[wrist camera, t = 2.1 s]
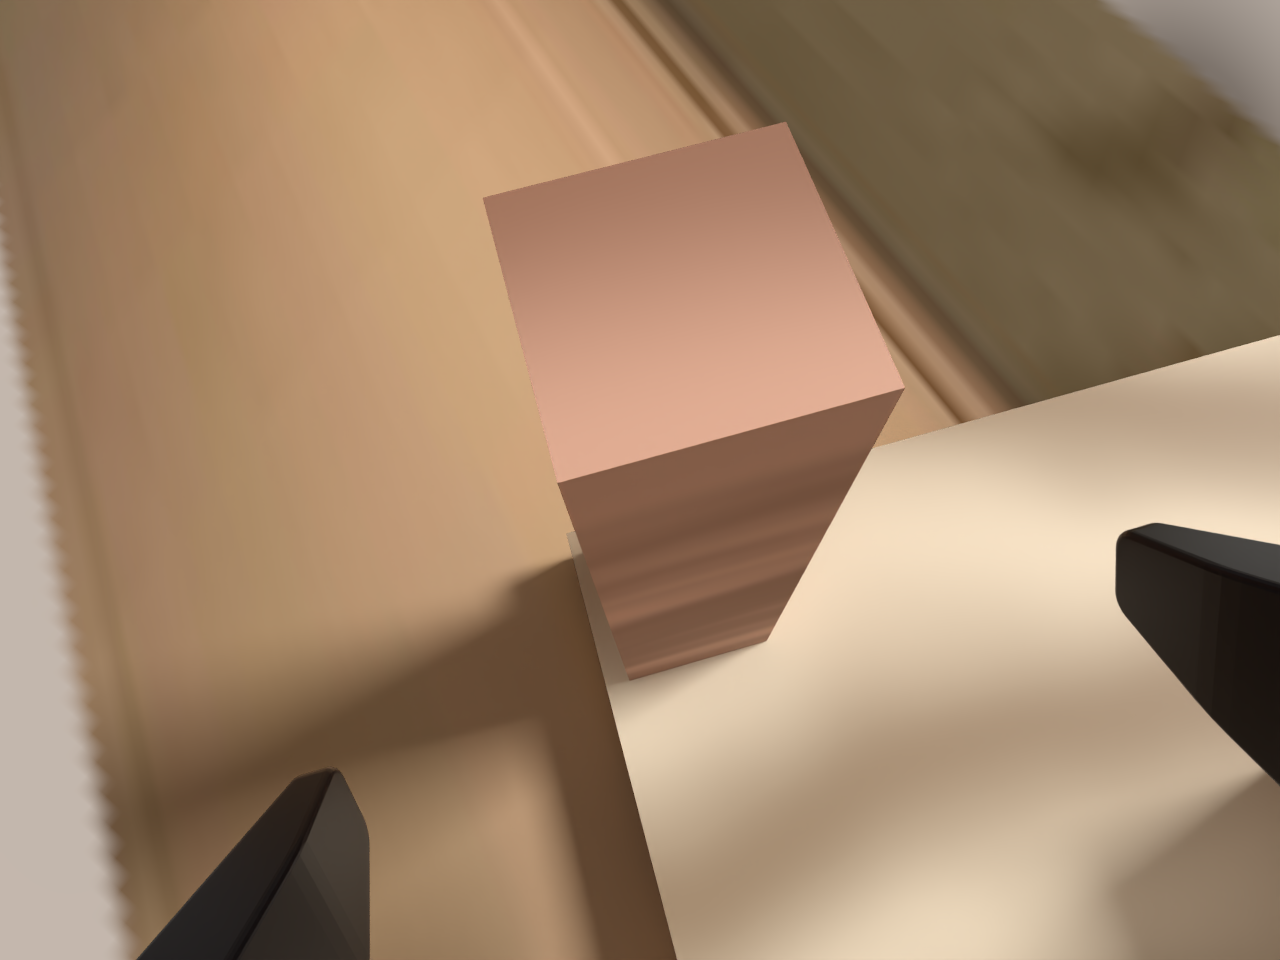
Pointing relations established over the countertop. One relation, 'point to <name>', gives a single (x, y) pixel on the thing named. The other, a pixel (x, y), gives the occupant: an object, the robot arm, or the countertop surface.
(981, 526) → the board with upright post
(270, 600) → the countertop surface
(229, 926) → the robot arm
